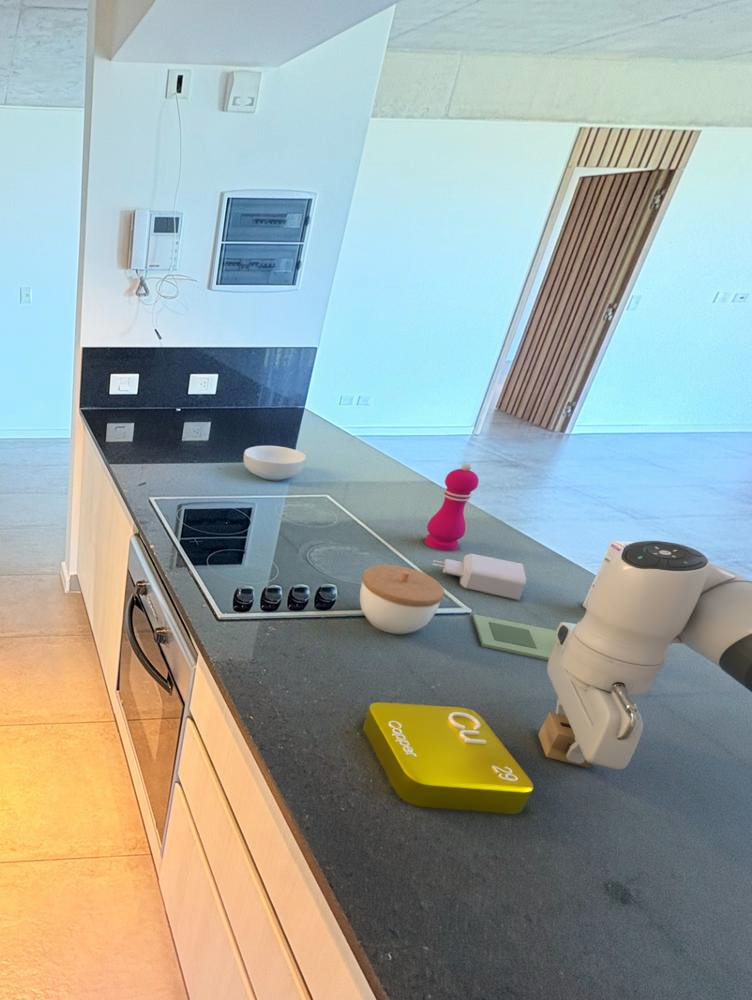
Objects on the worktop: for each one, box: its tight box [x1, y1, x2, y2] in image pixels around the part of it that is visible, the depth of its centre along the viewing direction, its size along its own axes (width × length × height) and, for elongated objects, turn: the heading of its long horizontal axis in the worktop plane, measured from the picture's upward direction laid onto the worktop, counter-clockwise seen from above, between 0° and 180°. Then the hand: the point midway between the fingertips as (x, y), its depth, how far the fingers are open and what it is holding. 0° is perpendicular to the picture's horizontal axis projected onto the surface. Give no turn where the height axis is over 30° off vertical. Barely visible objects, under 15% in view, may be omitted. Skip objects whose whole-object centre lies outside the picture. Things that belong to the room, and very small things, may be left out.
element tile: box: [362, 701, 534, 815], centre depth 82 cm, size 15×15×5 cm
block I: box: [537, 711, 592, 769], centre depth 84 cm, size 5×5×5 cm
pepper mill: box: [424, 462, 479, 552], centre depth 136 cm, size 7×7×20 cm
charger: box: [432, 553, 527, 601], centre depth 125 cm, size 5×9×15 cm
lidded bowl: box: [359, 564, 445, 635], centre depth 110 cm, size 13×13×11 cm
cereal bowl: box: [243, 445, 307, 481], centre depth 179 cm, size 17×17×7 cm
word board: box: [472, 613, 558, 662], centre depth 106 cm, size 22×10×1 cm, turn 65°
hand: (566, 743), depth 84 cm, fingers closed on block I, 4 cm apart
